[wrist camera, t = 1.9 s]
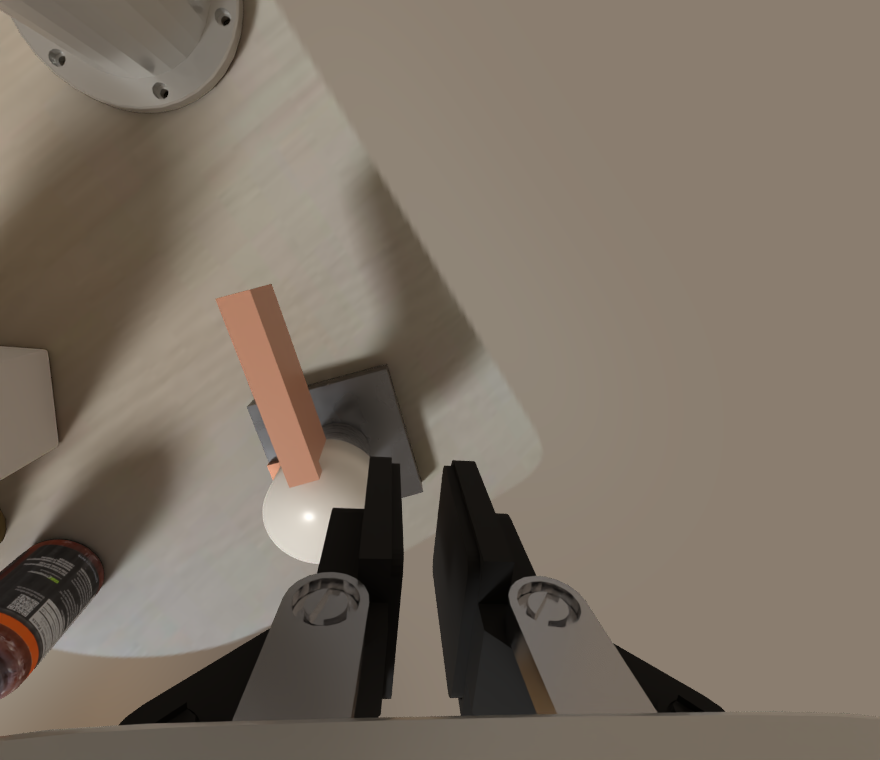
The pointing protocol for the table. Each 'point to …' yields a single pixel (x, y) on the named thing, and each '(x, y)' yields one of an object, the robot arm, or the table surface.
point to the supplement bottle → (42, 603)
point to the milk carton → (25, 408)
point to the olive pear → (2, 526)
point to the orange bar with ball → (292, 430)
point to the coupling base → (357, 421)
